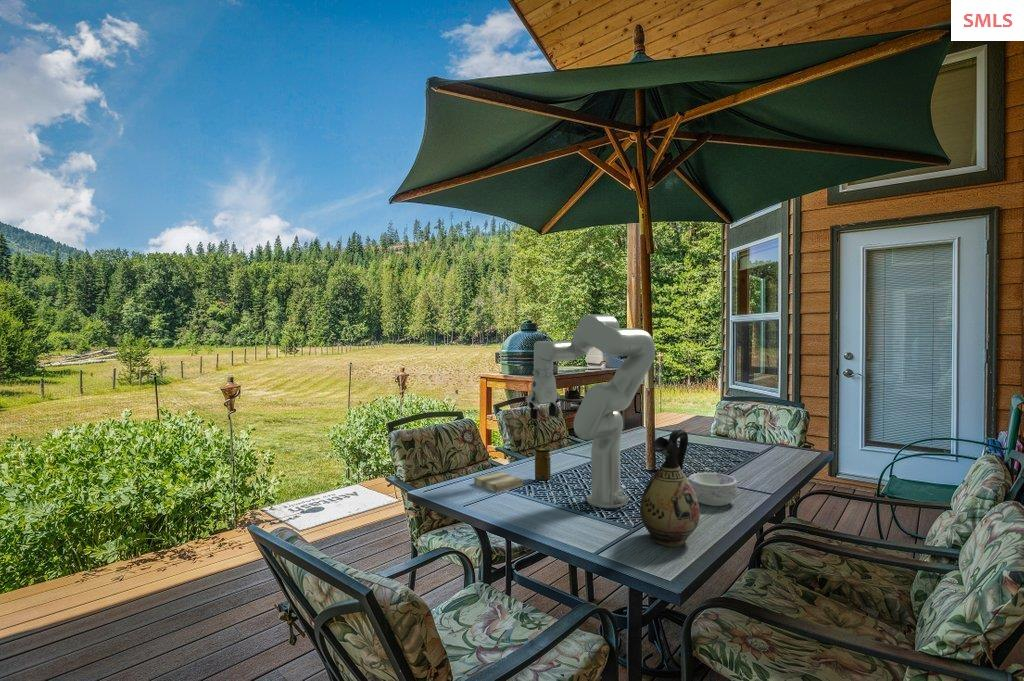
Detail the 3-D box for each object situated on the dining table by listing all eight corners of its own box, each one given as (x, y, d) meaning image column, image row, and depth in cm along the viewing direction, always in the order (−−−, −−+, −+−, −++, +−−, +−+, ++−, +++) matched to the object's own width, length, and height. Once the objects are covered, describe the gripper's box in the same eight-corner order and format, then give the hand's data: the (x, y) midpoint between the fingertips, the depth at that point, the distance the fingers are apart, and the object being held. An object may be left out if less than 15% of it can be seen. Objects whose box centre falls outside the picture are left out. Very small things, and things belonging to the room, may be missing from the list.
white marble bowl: (678, 497, 170) (678, 474, 170) (713, 492, 175) (713, 469, 175) (711, 512, 156) (710, 487, 156) (748, 506, 161) (748, 481, 161)
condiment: (543, 476, 197) (543, 446, 197) (558, 480, 191) (558, 449, 191) (529, 479, 193) (529, 448, 193) (544, 484, 186) (544, 452, 186)
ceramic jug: (676, 558, 125) (675, 438, 124) (628, 537, 137) (627, 429, 137) (715, 541, 134) (714, 430, 134) (667, 523, 147) (666, 422, 147)
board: (522, 485, 185) (522, 479, 185) (497, 492, 177) (497, 485, 177) (499, 477, 196) (499, 471, 195) (474, 483, 188) (474, 477, 188)
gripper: (533, 375, 183) (533, 421, 183) (566, 372, 194) (565, 416, 194) (520, 373, 188) (519, 418, 189) (552, 371, 199) (552, 413, 200)
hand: (543, 417), depth 191 cm, fingers open, 9 cm apart
